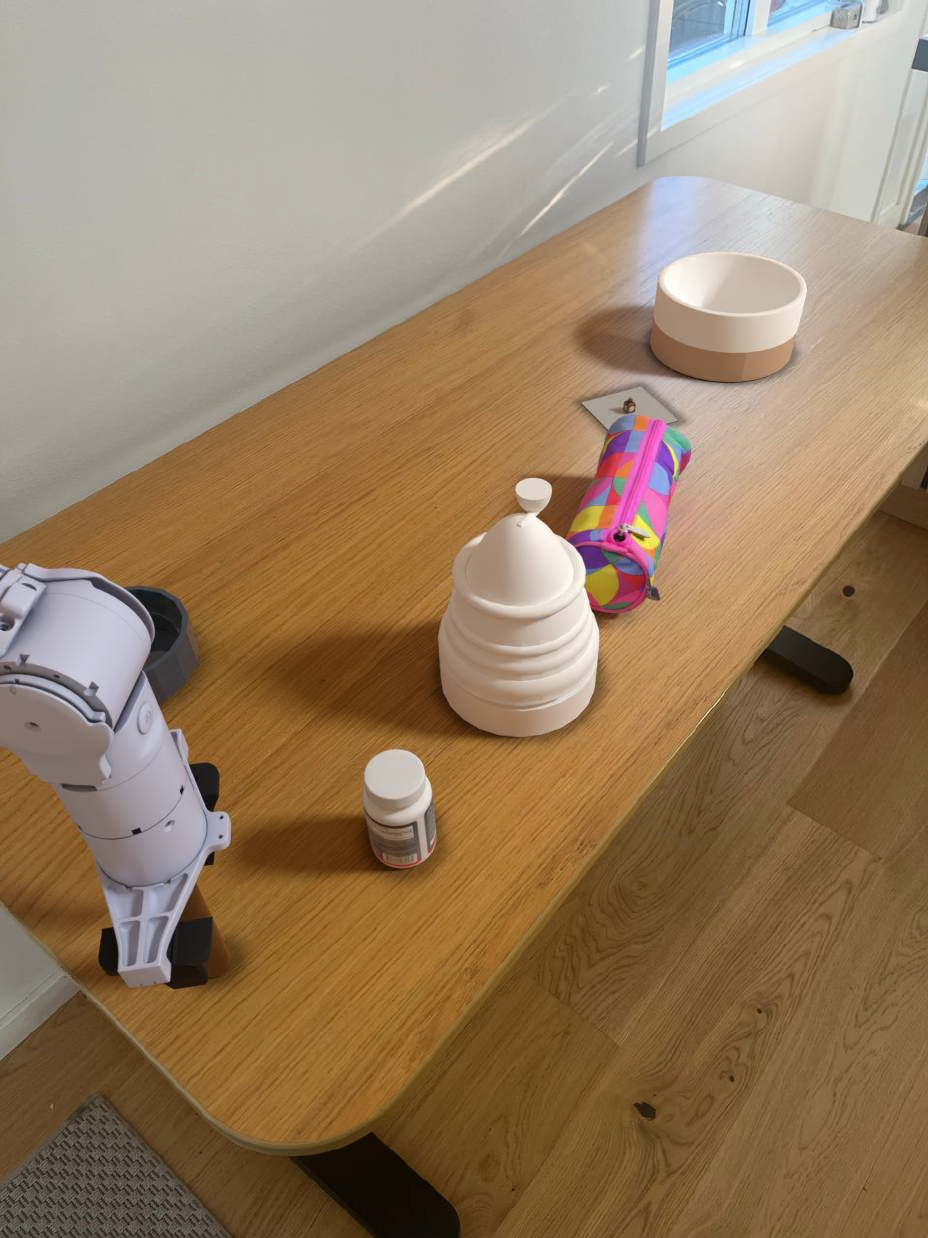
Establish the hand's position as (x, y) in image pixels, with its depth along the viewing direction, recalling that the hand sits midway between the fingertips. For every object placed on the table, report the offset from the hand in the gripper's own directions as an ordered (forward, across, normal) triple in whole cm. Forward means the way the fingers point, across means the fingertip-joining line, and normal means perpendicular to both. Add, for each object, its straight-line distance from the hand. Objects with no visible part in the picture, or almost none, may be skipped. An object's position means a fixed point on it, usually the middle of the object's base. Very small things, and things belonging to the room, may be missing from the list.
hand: (194, 919), depth 55 cm
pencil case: (+6, +35, -37) cm, 52 cm away
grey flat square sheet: (+6, +58, -44) cm, 73 cm away
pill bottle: (+6, +7, -13) cm, 16 cm away
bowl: (+6, +70, -59) cm, 92 cm away
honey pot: (+6, +21, -24) cm, 32 cm away
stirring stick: (+6, 0, 0) cm, 6 cm away
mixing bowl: (+6, +28, +8) cm, 29 cm away
